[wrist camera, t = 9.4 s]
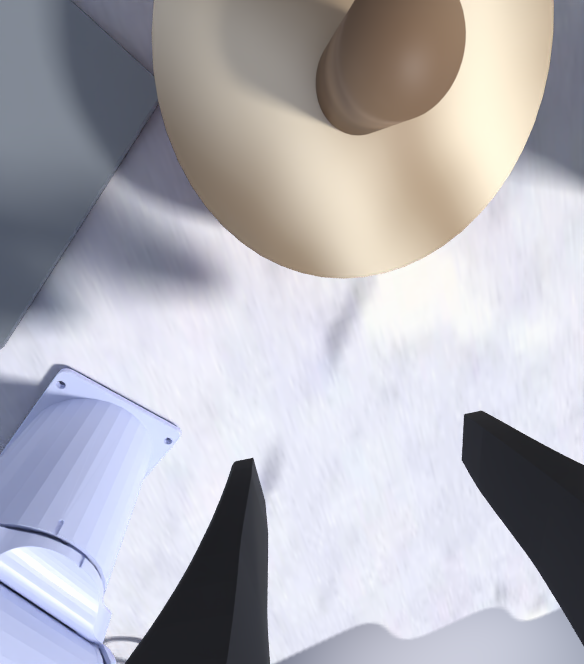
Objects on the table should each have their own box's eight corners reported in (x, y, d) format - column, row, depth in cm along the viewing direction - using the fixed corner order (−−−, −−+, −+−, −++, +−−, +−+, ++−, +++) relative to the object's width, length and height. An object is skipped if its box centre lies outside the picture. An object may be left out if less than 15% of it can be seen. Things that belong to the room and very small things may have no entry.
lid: (359, 330, 16) (395, 380, 12) (80, 113, 12) (-4, 82, 8) (602, 65, 13) (757, 17, 9) (344, -369, 8) (428, -839, 5)
